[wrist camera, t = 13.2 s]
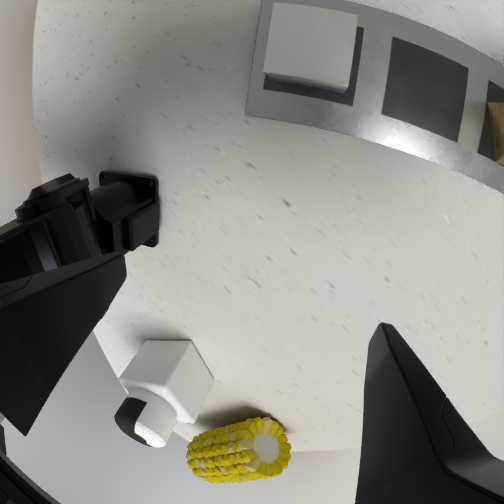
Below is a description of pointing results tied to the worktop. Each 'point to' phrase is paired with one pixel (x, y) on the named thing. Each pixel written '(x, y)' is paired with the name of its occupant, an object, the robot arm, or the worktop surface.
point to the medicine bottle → (162, 390)
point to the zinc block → (310, 46)
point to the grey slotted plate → (395, 92)
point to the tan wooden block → (497, 129)
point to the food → (240, 452)
